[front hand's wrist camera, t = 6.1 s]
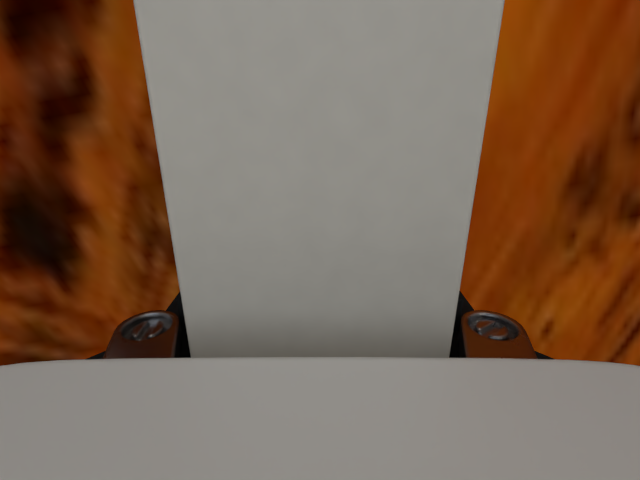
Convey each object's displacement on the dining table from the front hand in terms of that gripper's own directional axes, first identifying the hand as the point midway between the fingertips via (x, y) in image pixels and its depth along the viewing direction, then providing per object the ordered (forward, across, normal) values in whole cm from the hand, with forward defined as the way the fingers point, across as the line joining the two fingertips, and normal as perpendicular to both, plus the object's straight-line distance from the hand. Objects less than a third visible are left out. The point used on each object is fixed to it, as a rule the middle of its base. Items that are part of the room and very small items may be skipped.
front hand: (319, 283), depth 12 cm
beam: (+4, 0, -24) cm, 24 cm away
